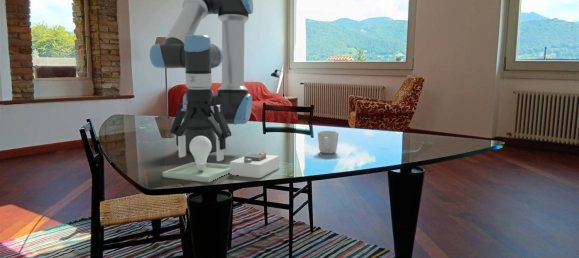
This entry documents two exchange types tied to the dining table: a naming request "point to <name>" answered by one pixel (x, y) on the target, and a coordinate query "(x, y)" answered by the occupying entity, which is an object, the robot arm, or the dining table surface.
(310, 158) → the dining table surface
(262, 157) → the button
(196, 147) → the light bulb
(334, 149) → the cup
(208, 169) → the tray
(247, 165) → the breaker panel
